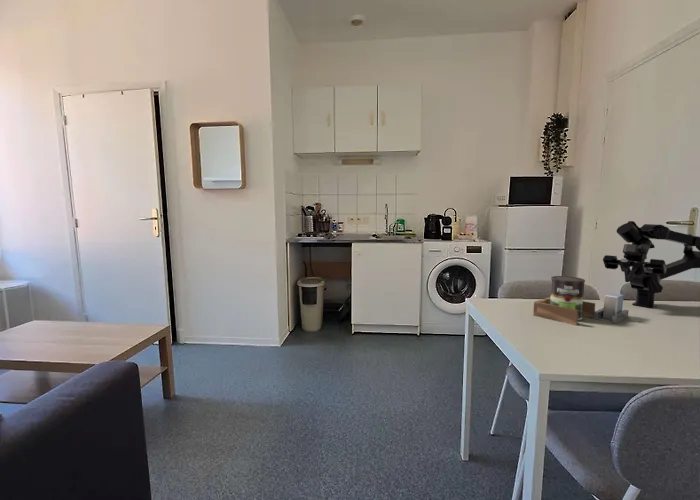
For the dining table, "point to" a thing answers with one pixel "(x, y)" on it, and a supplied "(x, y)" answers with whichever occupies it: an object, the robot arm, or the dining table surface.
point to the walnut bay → (561, 311)
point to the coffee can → (567, 293)
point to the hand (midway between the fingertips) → (626, 281)
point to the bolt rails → (615, 317)
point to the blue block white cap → (612, 305)
